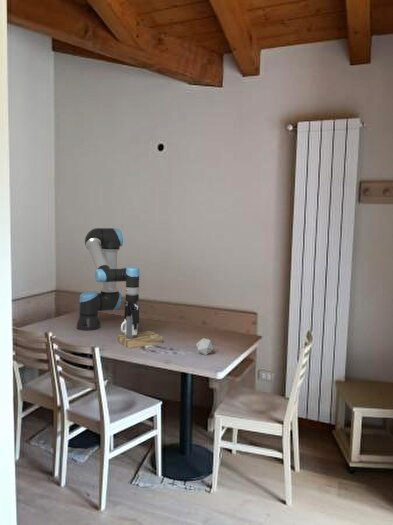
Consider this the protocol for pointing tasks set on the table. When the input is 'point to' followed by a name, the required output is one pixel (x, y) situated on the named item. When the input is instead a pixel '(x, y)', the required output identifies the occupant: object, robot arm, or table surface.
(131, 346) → the port block
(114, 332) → the table surface
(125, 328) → the mug
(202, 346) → the die
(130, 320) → the plug
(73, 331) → the table surface
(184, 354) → the table surface
